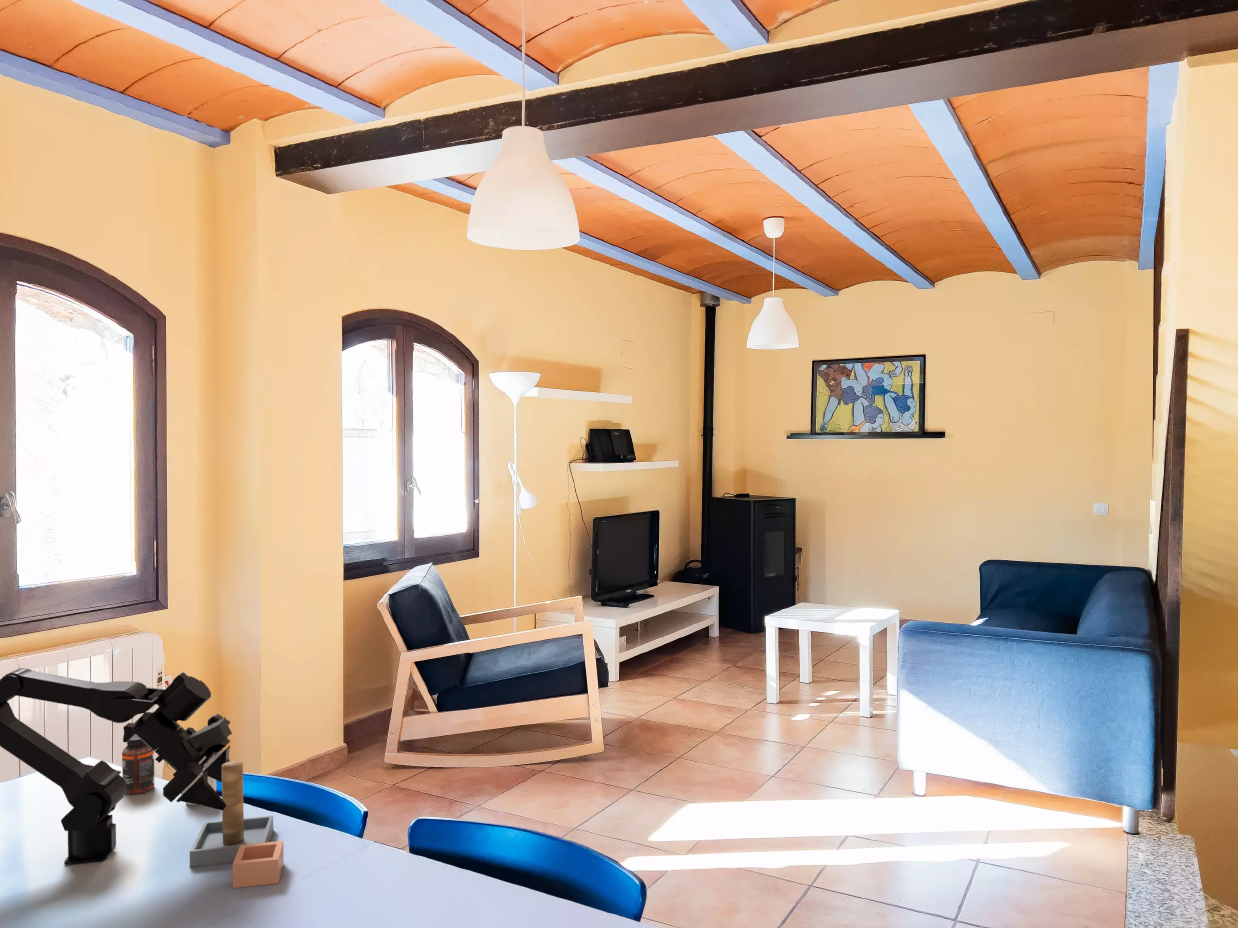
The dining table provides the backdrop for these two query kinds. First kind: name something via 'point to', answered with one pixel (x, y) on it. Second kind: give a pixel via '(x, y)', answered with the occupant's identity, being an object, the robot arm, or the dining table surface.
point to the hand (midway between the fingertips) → (232, 797)
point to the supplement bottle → (138, 766)
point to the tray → (215, 852)
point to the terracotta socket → (258, 864)
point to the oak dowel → (232, 803)
